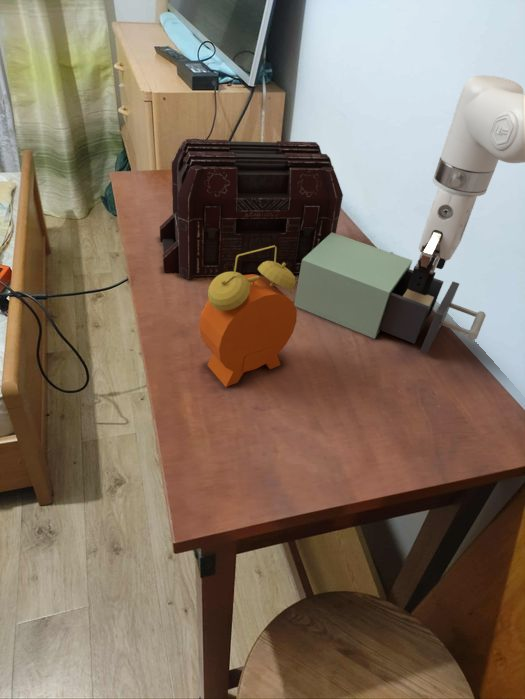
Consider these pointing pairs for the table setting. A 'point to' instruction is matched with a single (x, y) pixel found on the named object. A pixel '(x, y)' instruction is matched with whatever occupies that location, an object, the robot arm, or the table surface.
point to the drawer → (423, 314)
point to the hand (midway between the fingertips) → (425, 278)
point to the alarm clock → (247, 319)
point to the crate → (247, 205)
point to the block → (419, 298)
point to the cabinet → (349, 282)
